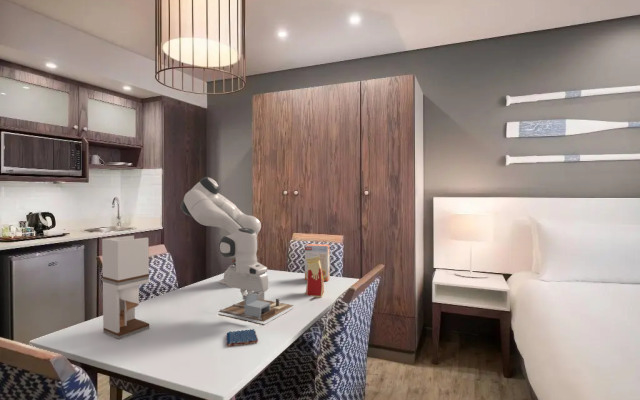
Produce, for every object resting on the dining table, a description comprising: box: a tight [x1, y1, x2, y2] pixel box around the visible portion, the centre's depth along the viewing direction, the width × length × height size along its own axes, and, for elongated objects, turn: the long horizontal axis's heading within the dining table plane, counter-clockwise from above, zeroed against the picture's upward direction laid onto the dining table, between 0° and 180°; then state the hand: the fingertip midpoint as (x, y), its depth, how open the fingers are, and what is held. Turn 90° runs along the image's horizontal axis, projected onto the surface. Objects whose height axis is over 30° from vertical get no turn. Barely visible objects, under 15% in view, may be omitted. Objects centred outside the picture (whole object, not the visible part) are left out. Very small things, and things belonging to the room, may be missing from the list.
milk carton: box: [305, 256, 325, 298], centre depth 178 cm, size 9×9×20 cm
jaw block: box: [251, 291, 265, 301], centre depth 162 cm, size 5×5×4 cm
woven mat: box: [226, 328, 259, 347], centre depth 124 cm, size 10×11×2 cm
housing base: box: [217, 298, 294, 326], centre depth 153 cm, size 24×22×4 cm
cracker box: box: [304, 243, 331, 282], centre depth 208 cm, size 14×6×21 cm, turn 76°
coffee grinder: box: [101, 235, 150, 340], centre depth 131 cm, size 11×11×35 cm
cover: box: [243, 293, 270, 318], centre depth 145 cm, size 8×7×7 cm
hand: (246, 299), depth 147 cm, fingers closed
